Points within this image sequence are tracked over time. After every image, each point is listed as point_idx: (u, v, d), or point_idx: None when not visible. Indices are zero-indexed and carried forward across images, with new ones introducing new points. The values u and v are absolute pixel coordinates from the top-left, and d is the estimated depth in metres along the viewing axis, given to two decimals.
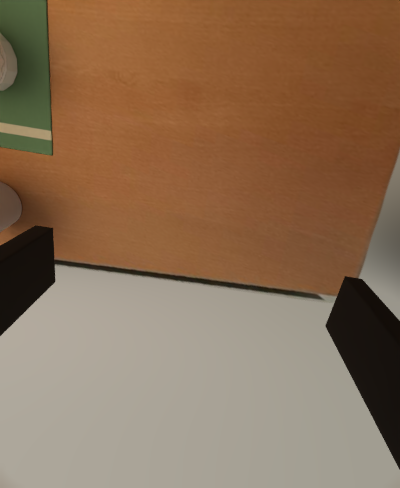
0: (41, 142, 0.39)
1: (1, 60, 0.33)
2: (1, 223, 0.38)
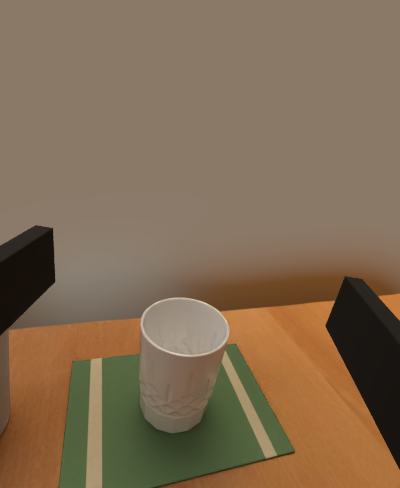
0: (79, 485, 0.23)
1: (185, 411, 0.26)
2: None
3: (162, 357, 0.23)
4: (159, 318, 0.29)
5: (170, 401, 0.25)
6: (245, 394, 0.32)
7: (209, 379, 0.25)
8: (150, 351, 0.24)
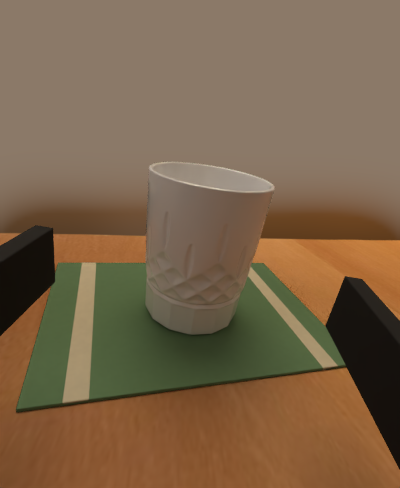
0: (55, 380, 0.15)
1: (210, 296, 0.18)
2: None
3: (182, 195, 0.16)
4: None
5: (191, 276, 0.17)
6: (283, 305, 0.25)
7: (247, 247, 0.18)
8: (164, 193, 0.16)
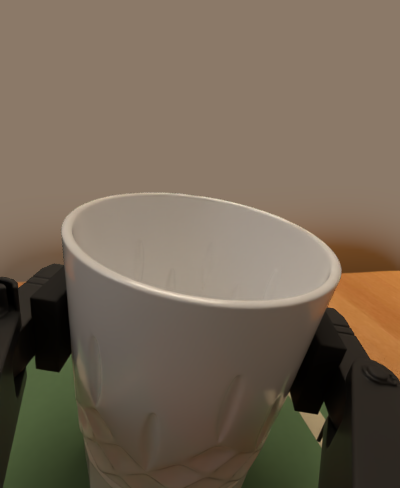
0: None
1: None
2: None
3: (122, 310, 0.06)
4: (135, 240, 0.12)
5: (155, 466, 0.08)
6: None
7: (280, 396, 0.08)
8: (82, 294, 0.07)
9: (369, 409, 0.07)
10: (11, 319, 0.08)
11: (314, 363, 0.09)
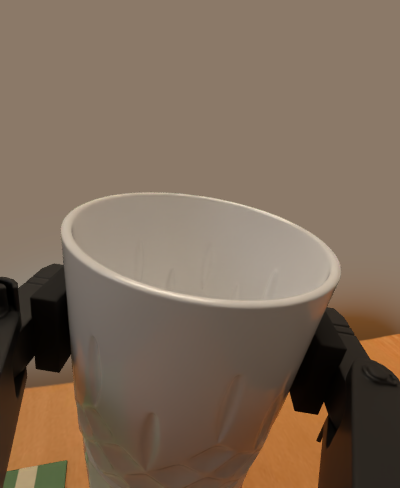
0: None
1: None
2: None
3: (121, 310, 0.06)
4: (135, 240, 0.12)
5: (155, 467, 0.08)
6: None
7: (280, 396, 0.08)
8: (82, 294, 0.07)
9: (369, 409, 0.07)
10: (11, 319, 0.08)
11: (314, 363, 0.09)
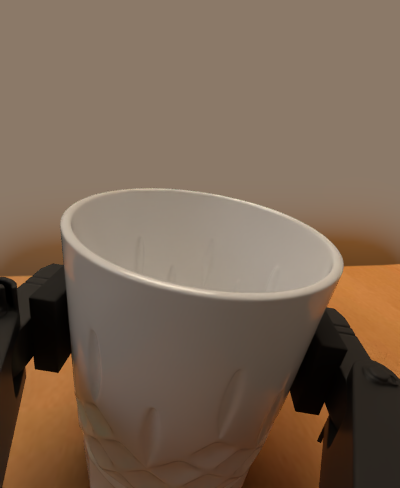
0: None
1: (202, 487, 0.08)
2: None
3: (122, 303, 0.06)
4: (135, 236, 0.12)
5: (155, 463, 0.08)
6: None
7: (282, 391, 0.08)
8: (81, 287, 0.06)
9: (370, 409, 0.07)
10: (10, 319, 0.08)
11: (315, 363, 0.09)
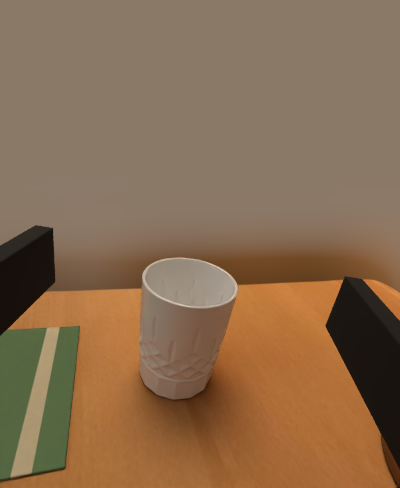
0: None
1: (188, 373, 0.24)
2: None
3: (166, 308, 0.21)
4: (162, 279, 0.27)
5: (173, 361, 0.23)
6: (45, 387, 0.24)
7: (215, 338, 0.23)
8: (153, 304, 0.22)
9: None
10: None
11: None
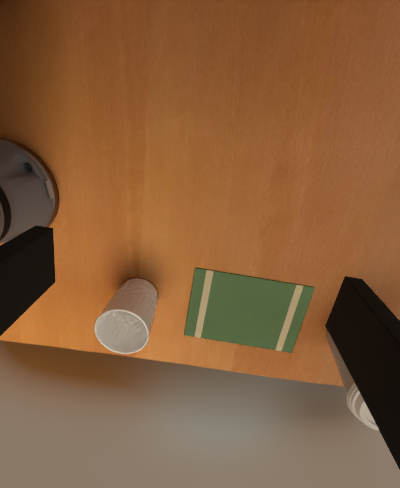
0: (303, 293, 0.49)
1: (135, 287, 0.47)
2: None
3: (141, 315, 0.42)
4: (134, 342, 0.45)
5: (142, 294, 0.46)
6: (201, 302, 0.51)
7: (118, 297, 0.44)
8: (147, 321, 0.42)
9: None
10: None
11: None
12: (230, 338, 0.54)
